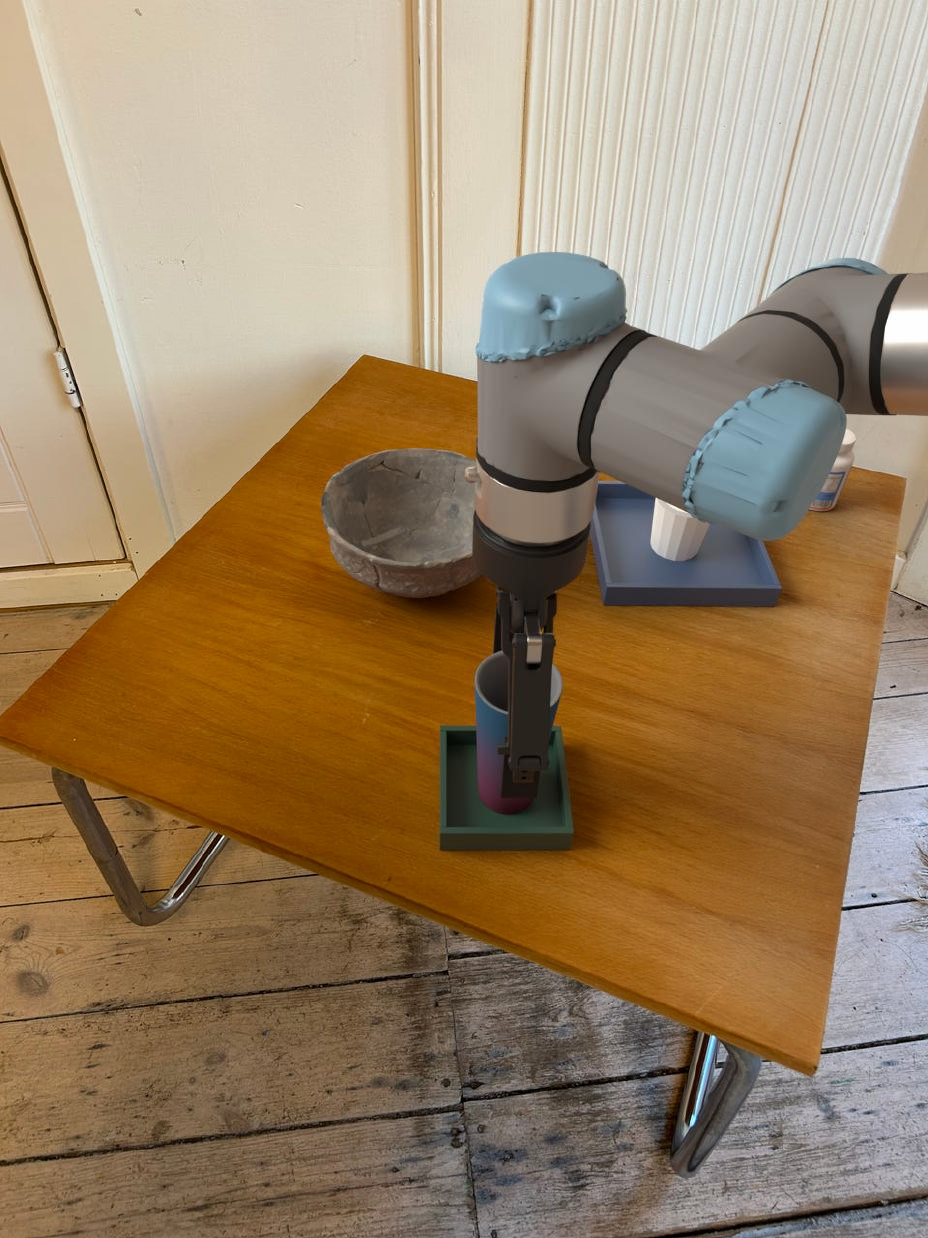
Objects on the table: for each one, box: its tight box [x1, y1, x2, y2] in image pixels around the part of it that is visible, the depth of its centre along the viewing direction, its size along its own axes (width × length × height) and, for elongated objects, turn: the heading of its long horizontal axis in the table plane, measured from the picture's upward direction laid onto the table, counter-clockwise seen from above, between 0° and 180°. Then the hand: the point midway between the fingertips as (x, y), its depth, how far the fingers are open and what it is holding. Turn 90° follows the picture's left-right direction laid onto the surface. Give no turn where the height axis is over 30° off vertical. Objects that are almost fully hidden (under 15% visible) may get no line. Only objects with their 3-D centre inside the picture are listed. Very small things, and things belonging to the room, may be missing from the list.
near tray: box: [438, 725, 575, 851], centre depth 76 cm, size 11×11×3 cm
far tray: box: [589, 480, 783, 608], centre depth 101 cm, size 19×19×3 cm
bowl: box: [320, 447, 483, 599], centre depth 95 cm, size 21×21×10 cm
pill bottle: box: [808, 428, 857, 512], centre depth 106 cm, size 6×5×10 cm
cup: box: [474, 651, 564, 815], centre depth 72 cm, size 7×7×15 cm
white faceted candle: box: [650, 498, 710, 561], centre depth 99 cm, size 7×7×7 cm
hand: (513, 722), depth 70 cm, fingers open, 13 cm apart
